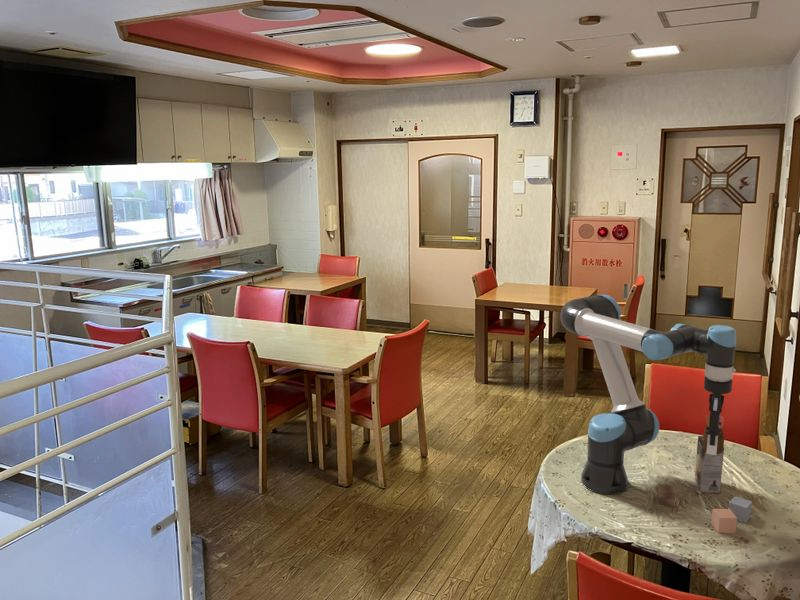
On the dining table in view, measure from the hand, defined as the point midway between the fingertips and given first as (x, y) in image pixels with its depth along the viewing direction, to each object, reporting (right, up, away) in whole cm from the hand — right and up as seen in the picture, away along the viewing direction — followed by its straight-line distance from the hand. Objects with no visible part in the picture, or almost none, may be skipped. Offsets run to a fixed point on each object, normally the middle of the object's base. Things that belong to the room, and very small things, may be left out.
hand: (712, 449), depth 200 cm
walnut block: (-10, -19, +10) cm, 24 cm away
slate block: (+9, -21, +1) cm, 23 cm away
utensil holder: (0, -1, 0) cm, 1 cm away
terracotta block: (+1, -23, -5) cm, 23 cm away
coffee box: (+8, -17, +20) cm, 27 cm away
